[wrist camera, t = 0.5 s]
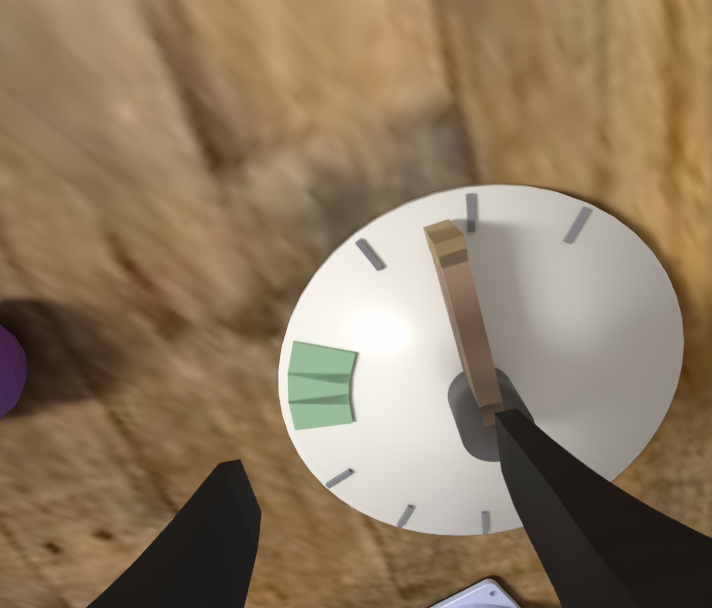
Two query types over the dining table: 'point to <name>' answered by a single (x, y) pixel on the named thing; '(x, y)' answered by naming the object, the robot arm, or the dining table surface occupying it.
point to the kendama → (11, 370)
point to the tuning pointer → (470, 348)
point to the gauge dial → (507, 345)
